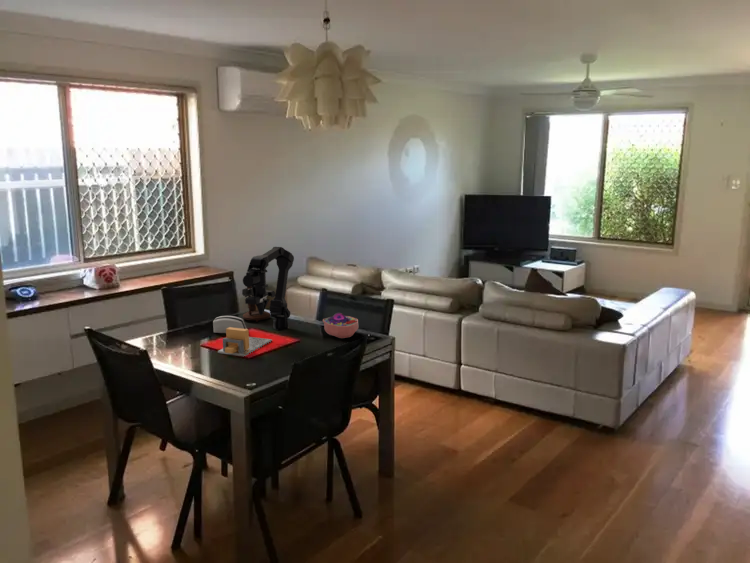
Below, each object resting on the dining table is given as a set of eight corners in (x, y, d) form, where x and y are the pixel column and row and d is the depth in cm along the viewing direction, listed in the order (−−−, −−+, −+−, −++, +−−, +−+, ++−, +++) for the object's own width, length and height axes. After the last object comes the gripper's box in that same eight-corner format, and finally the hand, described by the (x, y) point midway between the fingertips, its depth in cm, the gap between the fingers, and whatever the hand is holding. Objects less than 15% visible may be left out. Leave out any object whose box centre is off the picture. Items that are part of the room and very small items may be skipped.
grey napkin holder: (248, 331, 324) (245, 314, 319) (245, 336, 320) (242, 320, 315) (217, 329, 327) (213, 313, 322) (213, 335, 323) (210, 318, 318)
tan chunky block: (230, 345, 296) (229, 327, 294) (249, 348, 292) (248, 329, 290) (219, 351, 287) (218, 332, 286) (238, 354, 284) (237, 334, 282)
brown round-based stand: (257, 324, 336) (255, 287, 332) (237, 320, 344) (235, 284, 340) (276, 318, 348) (274, 282, 344) (256, 314, 356) (254, 279, 352)
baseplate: (247, 338, 312) (246, 325, 310) (272, 341, 307) (271, 327, 305) (218, 353, 290) (217, 338, 289) (244, 356, 285) (243, 342, 284)
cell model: (328, 344, 302) (328, 321, 300) (320, 332, 321) (319, 310, 318) (363, 341, 307) (362, 318, 304) (352, 329, 325) (352, 308, 323)
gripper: (255, 278, 317) (257, 308, 321) (234, 285, 300) (236, 317, 304) (275, 279, 313) (276, 310, 317) (254, 287, 296) (256, 319, 300)
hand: (261, 314), depth 309 cm, fingers closed
